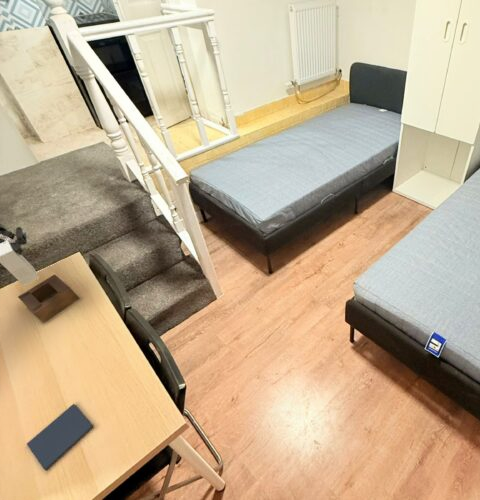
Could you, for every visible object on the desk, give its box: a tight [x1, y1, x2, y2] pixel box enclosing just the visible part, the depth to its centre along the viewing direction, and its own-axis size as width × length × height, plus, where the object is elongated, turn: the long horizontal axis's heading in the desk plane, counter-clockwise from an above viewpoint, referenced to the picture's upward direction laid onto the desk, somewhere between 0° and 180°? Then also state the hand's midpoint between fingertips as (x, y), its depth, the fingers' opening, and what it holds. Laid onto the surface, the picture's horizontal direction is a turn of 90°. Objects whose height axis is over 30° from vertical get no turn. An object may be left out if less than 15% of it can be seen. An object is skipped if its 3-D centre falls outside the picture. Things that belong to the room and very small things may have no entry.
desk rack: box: [17, 273, 80, 324], centre depth 106 cm, size 11×11×5 cm
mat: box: [26, 403, 94, 471], centre depth 79 cm, size 11×9×1 cm
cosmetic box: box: [0, 241, 40, 287], centre depth 95 cm, size 6×4×12 cm
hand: (8, 257), depth 91 cm, fingers closed on cosmetic box, 4 cm apart
